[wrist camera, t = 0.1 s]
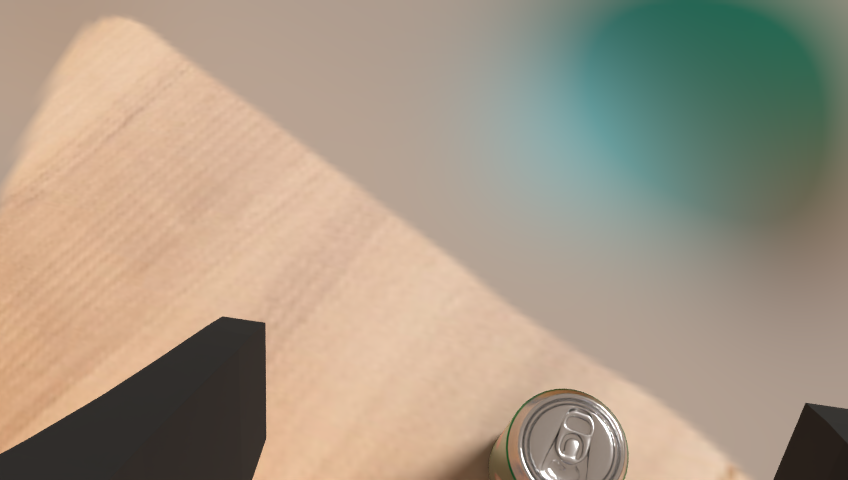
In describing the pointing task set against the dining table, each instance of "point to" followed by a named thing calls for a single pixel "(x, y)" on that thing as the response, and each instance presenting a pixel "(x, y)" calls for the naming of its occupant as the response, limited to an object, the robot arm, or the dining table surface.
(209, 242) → the dining table surface
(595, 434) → the soda can
